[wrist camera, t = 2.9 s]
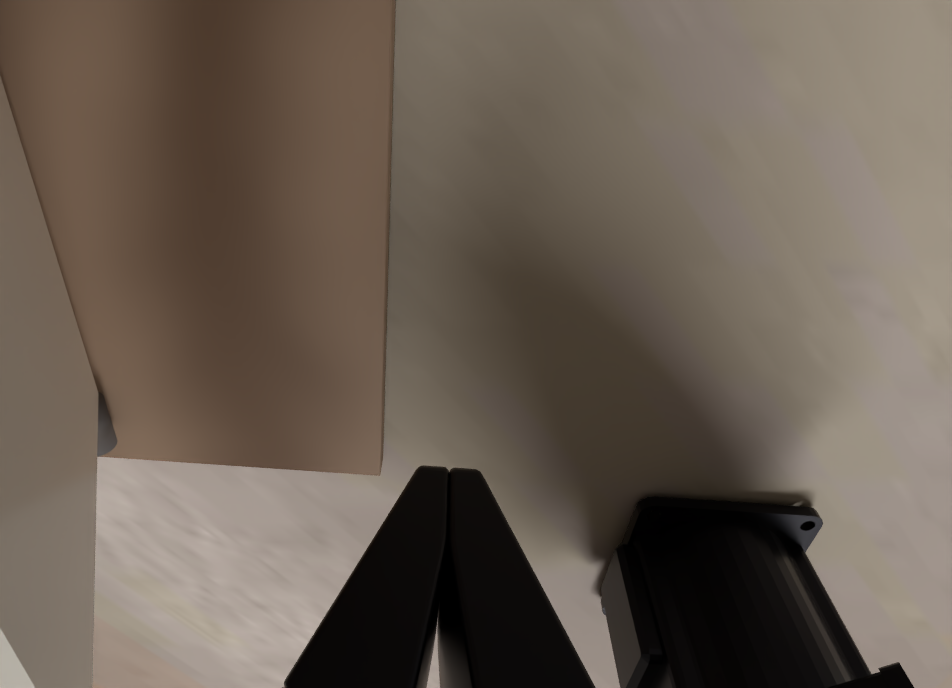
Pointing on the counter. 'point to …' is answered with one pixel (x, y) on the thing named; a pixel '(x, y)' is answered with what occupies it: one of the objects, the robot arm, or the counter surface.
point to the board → (217, 217)
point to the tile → (42, 448)
